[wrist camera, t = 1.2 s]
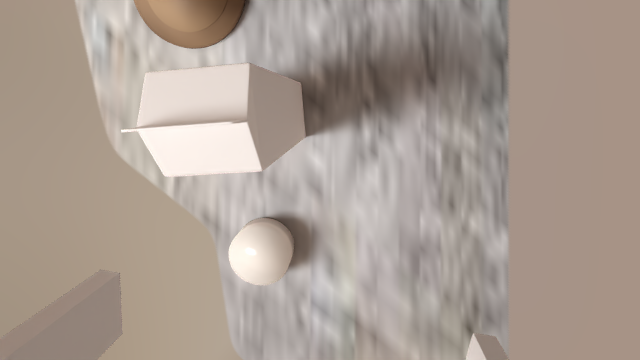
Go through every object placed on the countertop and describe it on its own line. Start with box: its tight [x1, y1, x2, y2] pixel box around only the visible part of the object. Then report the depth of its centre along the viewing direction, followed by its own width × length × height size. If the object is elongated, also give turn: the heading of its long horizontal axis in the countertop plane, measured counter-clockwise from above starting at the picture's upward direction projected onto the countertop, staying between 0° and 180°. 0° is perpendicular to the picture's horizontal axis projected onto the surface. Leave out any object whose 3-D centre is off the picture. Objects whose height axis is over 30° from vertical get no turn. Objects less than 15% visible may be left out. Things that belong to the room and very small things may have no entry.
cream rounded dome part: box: [229, 218, 294, 285], centre depth 39 cm, size 7×7×4 cm
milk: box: [121, 63, 306, 177], centre depth 26 cm, size 6×6×22 cm
